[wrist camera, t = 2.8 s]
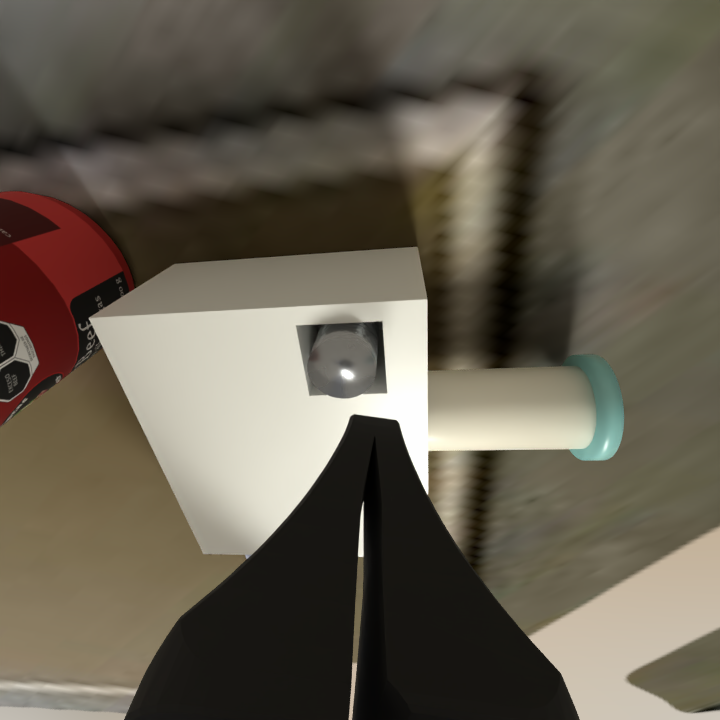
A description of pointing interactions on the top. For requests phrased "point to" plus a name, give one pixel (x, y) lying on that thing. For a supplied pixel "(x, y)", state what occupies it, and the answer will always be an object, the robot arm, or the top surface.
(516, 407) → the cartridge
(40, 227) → the canned food
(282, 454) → the housing
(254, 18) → the top surface
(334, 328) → the plunger
